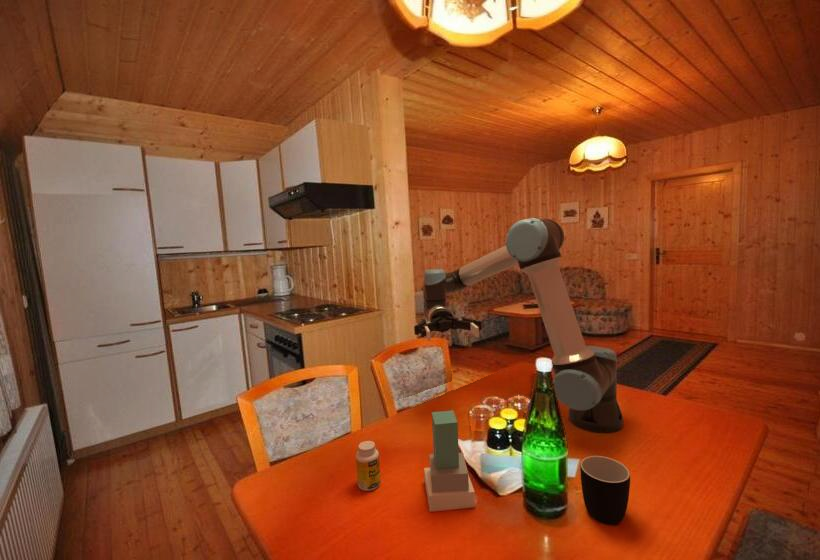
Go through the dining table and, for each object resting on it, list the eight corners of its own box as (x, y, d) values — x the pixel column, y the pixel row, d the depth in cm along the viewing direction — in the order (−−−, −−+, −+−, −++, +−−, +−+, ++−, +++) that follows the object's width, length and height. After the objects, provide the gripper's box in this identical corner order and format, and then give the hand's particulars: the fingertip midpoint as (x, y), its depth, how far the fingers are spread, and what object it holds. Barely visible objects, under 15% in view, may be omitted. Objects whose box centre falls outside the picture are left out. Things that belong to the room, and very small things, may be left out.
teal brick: (454, 453, 87) (453, 410, 85) (459, 467, 83) (457, 422, 81) (433, 455, 87) (431, 412, 85) (436, 469, 82) (434, 424, 80)
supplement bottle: (370, 495, 86) (367, 454, 85) (353, 487, 89) (350, 447, 88) (385, 482, 91) (382, 442, 90) (368, 474, 94) (365, 436, 93)
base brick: (465, 479, 91) (464, 464, 90) (475, 508, 81) (474, 491, 80) (424, 483, 90) (424, 468, 90) (429, 513, 80) (428, 496, 80)
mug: (639, 529, 72) (640, 480, 71) (594, 533, 72) (594, 484, 71) (605, 488, 84) (605, 446, 83) (566, 491, 84) (566, 449, 83)
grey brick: (463, 468, 89) (463, 452, 88) (468, 490, 81) (468, 473, 80) (430, 470, 89) (429, 454, 88) (432, 492, 81) (431, 475, 80)
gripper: (477, 326, 125) (497, 344, 104) (404, 332, 123) (409, 351, 102) (476, 305, 124) (497, 317, 103) (402, 310, 122) (407, 324, 101)
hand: (453, 334), depth 102 cm, fingers open, 13 cm apart
